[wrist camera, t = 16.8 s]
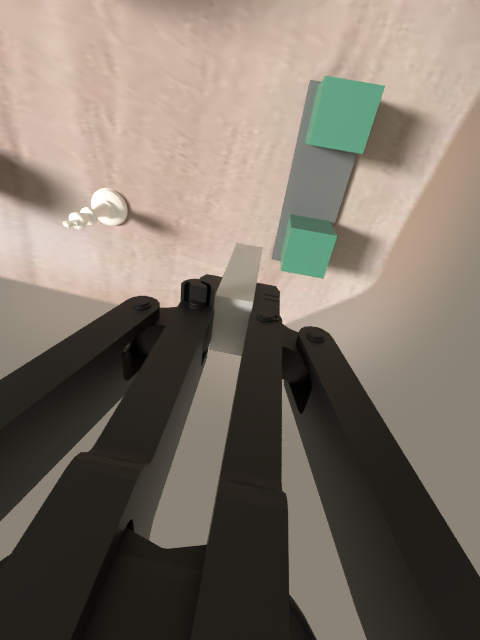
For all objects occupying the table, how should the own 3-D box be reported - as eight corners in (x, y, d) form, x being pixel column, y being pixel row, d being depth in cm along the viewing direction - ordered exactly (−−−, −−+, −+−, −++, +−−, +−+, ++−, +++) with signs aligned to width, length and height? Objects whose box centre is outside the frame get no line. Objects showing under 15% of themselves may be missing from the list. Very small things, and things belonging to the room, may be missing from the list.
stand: (271, 257, 42) (270, 278, 36) (309, 80, 32) (316, 68, 25) (320, 266, 42) (326, 288, 36) (375, 91, 31) (397, 81, 25)
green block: (280, 252, 41) (280, 270, 36) (289, 214, 38) (291, 227, 33) (317, 259, 41) (323, 278, 35) (329, 221, 38) (337, 236, 33)
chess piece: (130, 225, 42) (92, 248, 34) (97, 224, 43) (52, 245, 34) (124, 188, 40) (81, 203, 31) (89, 187, 40) (38, 201, 32)
